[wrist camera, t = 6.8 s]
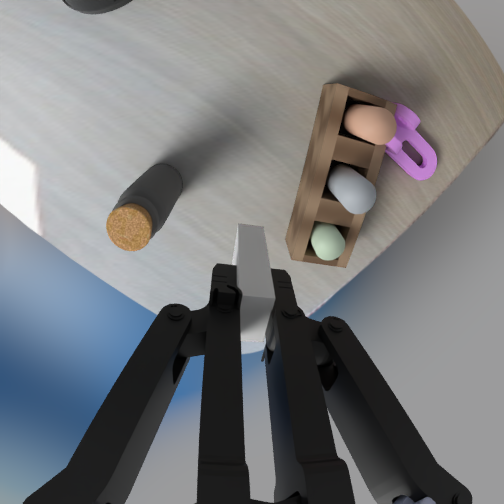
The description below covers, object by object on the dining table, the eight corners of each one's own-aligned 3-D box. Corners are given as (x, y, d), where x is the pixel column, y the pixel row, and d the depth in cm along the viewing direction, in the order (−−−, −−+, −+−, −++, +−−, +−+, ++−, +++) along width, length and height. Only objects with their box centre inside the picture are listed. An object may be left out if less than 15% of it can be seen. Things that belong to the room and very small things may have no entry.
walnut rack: (323, 84, 34) (337, 83, 29) (376, 101, 35) (397, 104, 30) (285, 239, 45) (291, 259, 40) (334, 247, 46) (345, 267, 41)
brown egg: (346, 99, 31) (367, 102, 26) (375, 109, 32) (400, 114, 26) (338, 130, 33) (358, 138, 28) (367, 139, 34) (391, 149, 28)
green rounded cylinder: (309, 210, 42) (320, 229, 36) (335, 215, 42) (349, 235, 37) (301, 235, 44) (311, 258, 38) (327, 239, 44) (339, 262, 39)
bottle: (191, 179, 40) (168, 224, 27) (168, 211, 42) (138, 266, 29) (157, 155, 38) (116, 188, 25) (135, 188, 40) (92, 235, 27)
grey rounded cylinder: (331, 161, 35) (348, 175, 30) (359, 168, 36) (380, 183, 30) (322, 191, 37) (337, 210, 31) (351, 197, 38) (369, 217, 32)
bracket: (360, 130, 37) (380, 138, 31) (382, 101, 35) (405, 104, 29) (418, 184, 41) (441, 200, 35) (438, 158, 39) (463, 170, 33)
